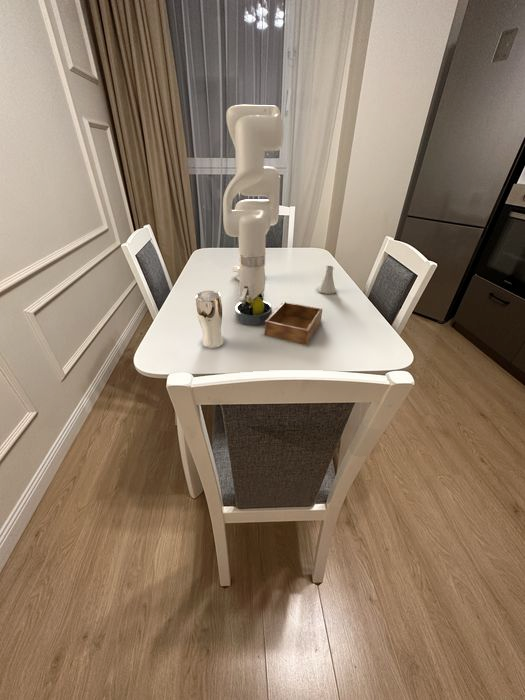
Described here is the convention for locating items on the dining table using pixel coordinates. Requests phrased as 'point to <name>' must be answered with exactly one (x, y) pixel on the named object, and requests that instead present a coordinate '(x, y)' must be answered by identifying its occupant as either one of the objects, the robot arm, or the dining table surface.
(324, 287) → the flask
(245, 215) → the robot arm
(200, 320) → the beer glass
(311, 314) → the wooden box
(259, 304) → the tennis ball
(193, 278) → the dining table surface
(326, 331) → the dining table surface
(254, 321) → the bowl
